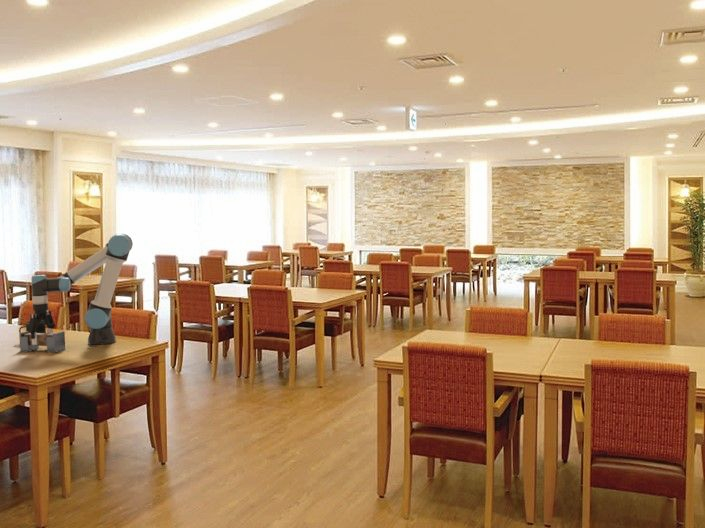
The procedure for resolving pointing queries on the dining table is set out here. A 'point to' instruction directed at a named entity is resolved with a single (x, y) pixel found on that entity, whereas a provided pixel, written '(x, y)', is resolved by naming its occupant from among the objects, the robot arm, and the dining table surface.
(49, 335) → the rail
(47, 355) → the dining table surface
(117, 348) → the dining table surface
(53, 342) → the bracket
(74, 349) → the dining table surface
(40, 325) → the mug
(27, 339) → the bracket
